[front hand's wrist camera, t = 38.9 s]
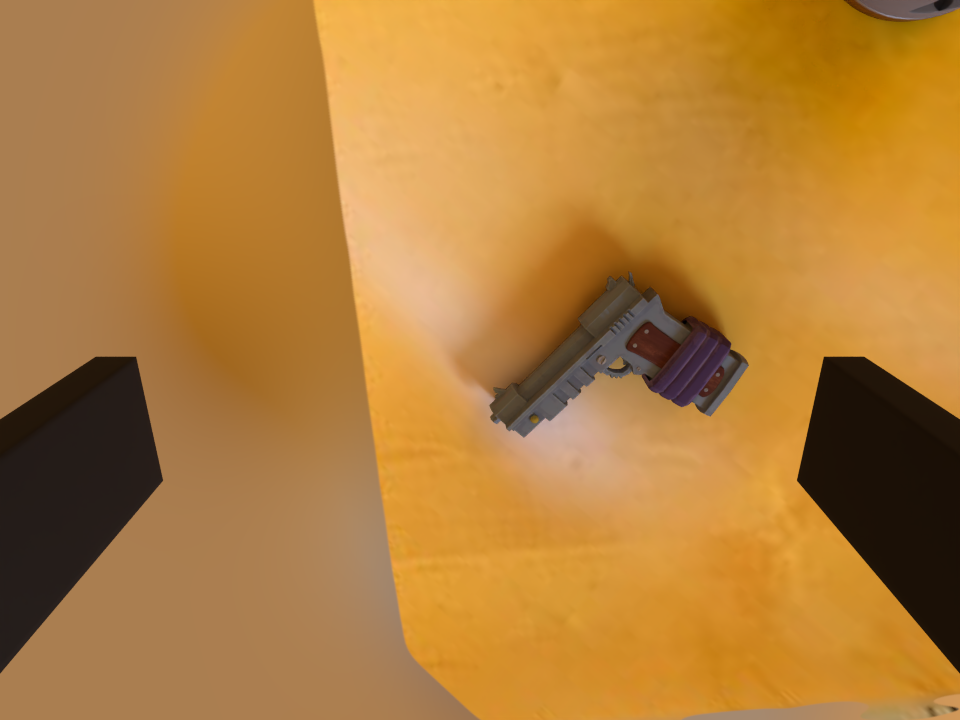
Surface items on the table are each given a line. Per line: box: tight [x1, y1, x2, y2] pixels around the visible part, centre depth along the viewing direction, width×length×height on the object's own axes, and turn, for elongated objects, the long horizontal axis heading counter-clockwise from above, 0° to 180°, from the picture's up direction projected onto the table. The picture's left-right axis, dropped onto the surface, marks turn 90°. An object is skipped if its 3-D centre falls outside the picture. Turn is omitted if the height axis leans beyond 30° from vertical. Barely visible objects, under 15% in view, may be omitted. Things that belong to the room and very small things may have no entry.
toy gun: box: [489, 272, 749, 437], centre depth 54 cm, size 4×19×15 cm
